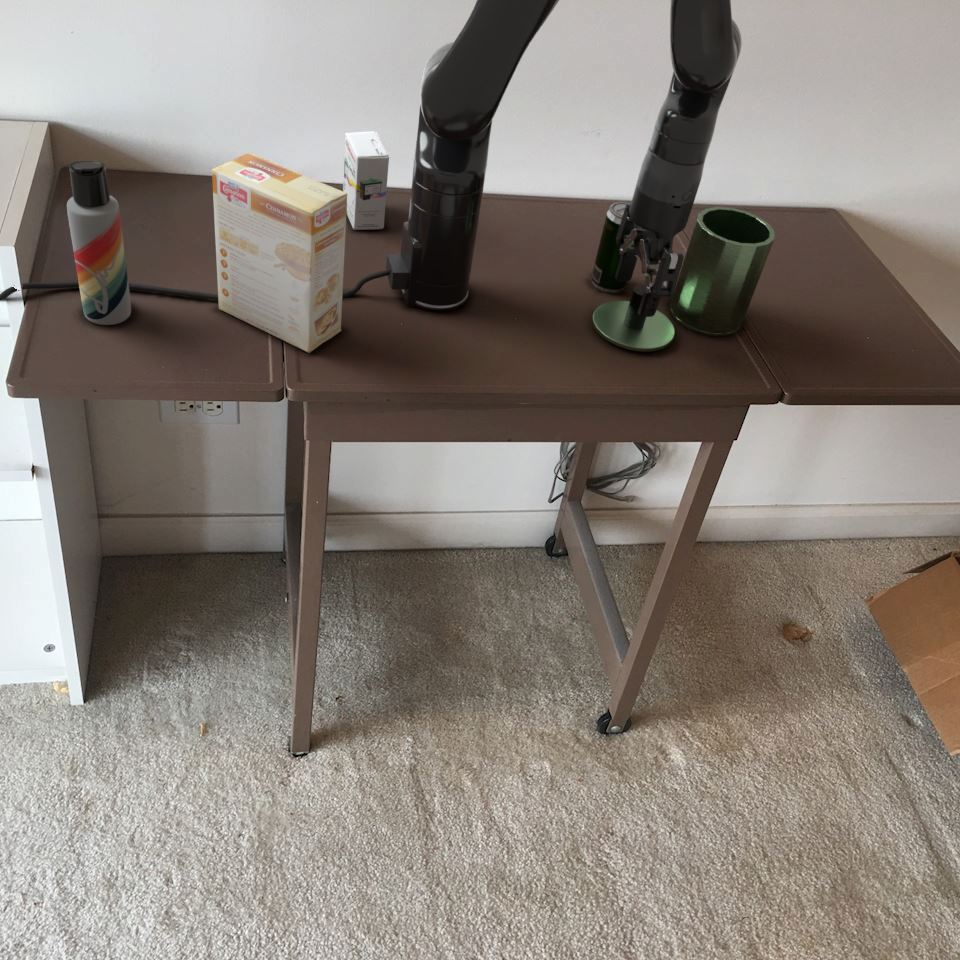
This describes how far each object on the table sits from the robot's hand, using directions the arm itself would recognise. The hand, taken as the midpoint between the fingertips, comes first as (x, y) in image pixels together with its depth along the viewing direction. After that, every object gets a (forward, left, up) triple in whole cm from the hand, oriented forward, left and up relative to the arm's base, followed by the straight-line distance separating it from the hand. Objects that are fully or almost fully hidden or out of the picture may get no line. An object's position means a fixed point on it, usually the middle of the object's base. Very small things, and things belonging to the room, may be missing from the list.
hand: (633, 297), depth 133 cm
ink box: (-31, +33, -6) cm, 46 cm away
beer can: (+2, +12, -6) cm, 14 cm away
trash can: (+14, +3, -6) cm, 16 cm away
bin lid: (+1, 0, -5) cm, 5 cm away
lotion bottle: (-68, +9, -6) cm, 69 cm away
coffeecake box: (-47, +6, -6) cm, 47 cm away
